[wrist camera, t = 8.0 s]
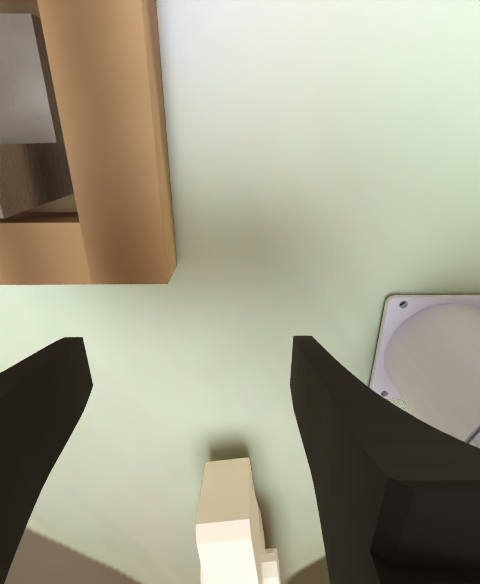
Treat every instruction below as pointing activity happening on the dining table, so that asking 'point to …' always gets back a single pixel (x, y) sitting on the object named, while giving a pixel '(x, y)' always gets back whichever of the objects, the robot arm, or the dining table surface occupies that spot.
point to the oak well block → (100, 152)
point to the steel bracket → (28, 120)
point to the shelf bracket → (232, 528)
